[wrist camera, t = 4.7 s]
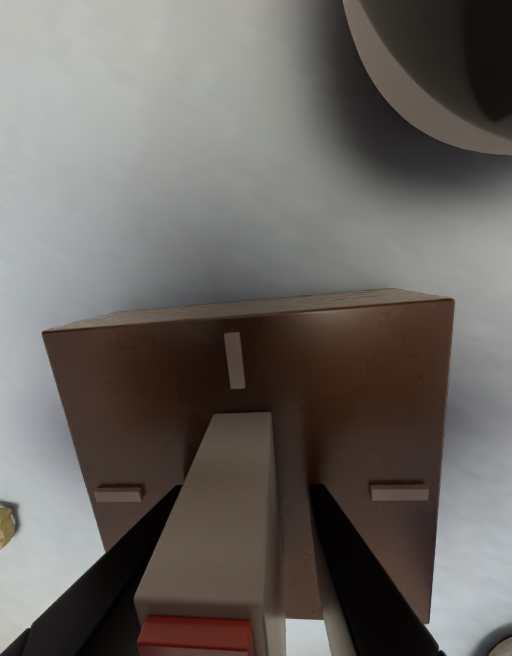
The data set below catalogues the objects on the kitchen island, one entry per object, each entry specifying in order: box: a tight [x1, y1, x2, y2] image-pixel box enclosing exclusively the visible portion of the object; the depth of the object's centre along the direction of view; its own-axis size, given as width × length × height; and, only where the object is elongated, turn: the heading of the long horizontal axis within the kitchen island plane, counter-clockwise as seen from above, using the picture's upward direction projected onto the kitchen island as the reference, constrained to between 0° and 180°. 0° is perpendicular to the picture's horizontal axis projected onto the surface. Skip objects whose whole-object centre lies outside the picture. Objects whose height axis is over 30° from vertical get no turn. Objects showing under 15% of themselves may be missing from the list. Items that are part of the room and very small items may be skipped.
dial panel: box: [42, 288, 455, 624], centre depth 8 cm, size 10×10×3 cm
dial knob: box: [134, 412, 286, 656], centre depth 5 cm, size 5×2×4 cm, turn 5°
